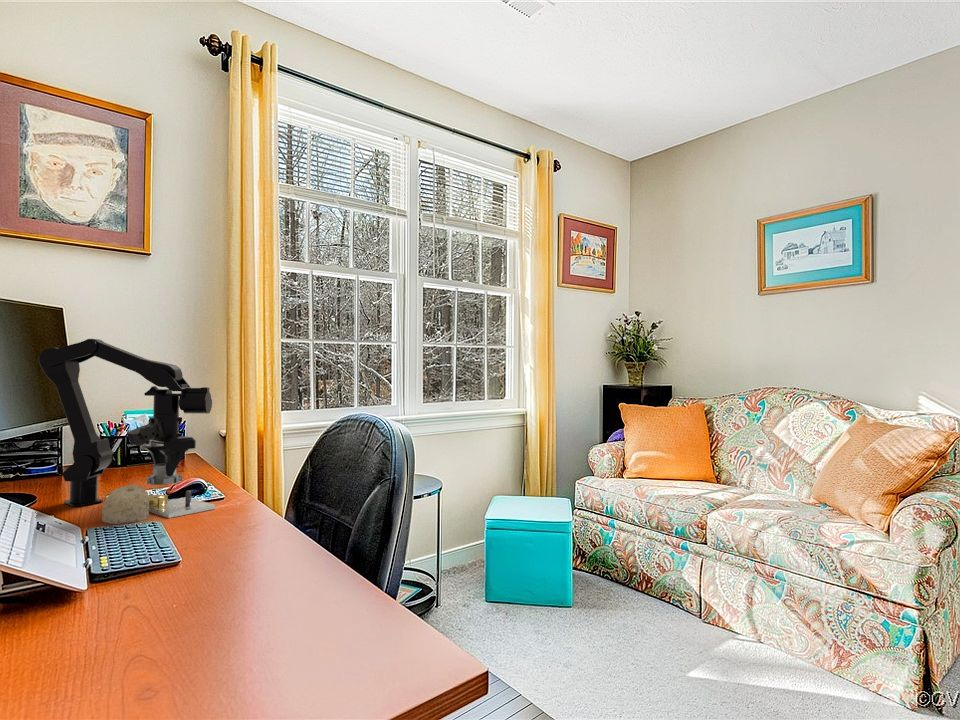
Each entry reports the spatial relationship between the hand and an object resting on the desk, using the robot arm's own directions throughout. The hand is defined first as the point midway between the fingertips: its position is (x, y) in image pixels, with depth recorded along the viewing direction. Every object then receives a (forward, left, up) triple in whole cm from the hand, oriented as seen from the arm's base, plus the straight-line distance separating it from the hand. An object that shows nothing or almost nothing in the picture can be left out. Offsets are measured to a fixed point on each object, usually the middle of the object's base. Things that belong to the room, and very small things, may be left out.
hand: (164, 474), depth 145 cm
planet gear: (0, 0, -2) cm, 2 cm away
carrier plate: (+10, -2, -7) cm, 12 cm away
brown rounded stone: (+10, -13, -7) cm, 18 cm away
